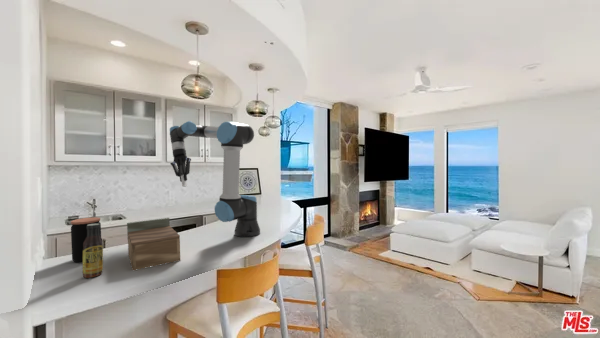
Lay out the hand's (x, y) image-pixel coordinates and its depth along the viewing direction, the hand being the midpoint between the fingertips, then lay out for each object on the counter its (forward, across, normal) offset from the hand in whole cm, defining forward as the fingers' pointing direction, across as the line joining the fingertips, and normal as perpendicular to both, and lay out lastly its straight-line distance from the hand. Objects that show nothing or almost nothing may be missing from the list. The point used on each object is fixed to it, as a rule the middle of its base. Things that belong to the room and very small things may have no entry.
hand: (184, 186), depth 164 cm
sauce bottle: (+40, +12, +53) cm, 67 cm away
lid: (+31, 0, +34) cm, 46 cm away
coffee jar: (+32, +30, +38) cm, 58 cm away
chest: (+39, +1, +33) cm, 51 cm away
